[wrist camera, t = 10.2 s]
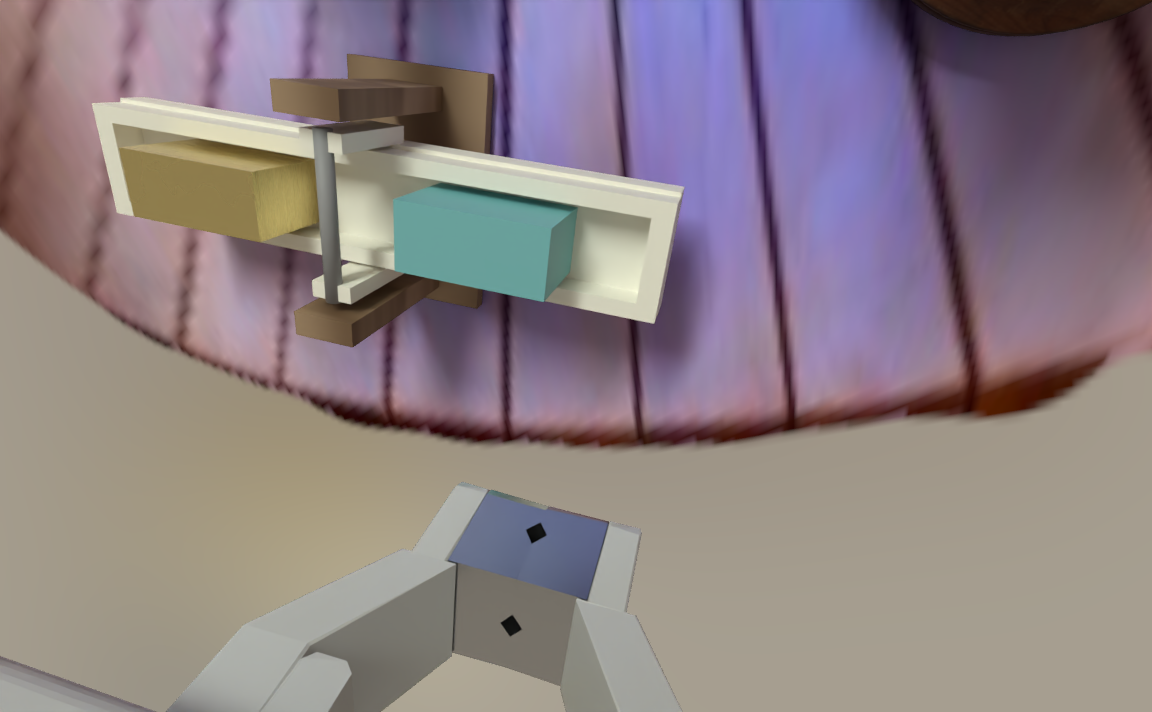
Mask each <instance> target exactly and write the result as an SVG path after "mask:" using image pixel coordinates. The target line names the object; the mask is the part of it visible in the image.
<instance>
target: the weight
mask: <svg viewBox="0 0 1152 712" xmlns="http://www.w3.org/2000/svg"><path fill="white" fill-rule="evenodd" d="M119 151H120V156H121V160H122V165H123V169H124V174H125V178H126V183H127V187H128V192H129V196H130V201H131V205H132V210H133V215H134V216H135V217H140V218H145V219H150V220H154V221H159V222H164V223H169V224H174V225H179V226H184V227H188V228H193V229H198V230H203V231H208V232H213V233H217V234H222V235H227V236H232V237H237V238H242V239H246V240H251V241H256V242H263V241H266V240H269V239H271V238H274V237H277V236H280V235H283V234H286V233H289V232H292V231H295V230H298V229H301V228H304V227H307V226H309V225H312V224H315V223H318V222H319V210H318V197H317V184H316V172H315V160H314V159H309V158H303V157H297V156H292V155H286V154H281V153H275V152H269V151H264V150H258V149H252V148H247V147H241V146H235V145H230V144H224V143H219V142H213V141H207V140H202V139H190V140H181V141H172V142H163V143H154V144H145V145H136V146H126V147H119Z"/></svg>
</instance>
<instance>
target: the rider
mask: <svg viewBox="0 0 1152 712" xmlns="http://www.w3.org/2000/svg"><path fill="white" fill-rule="evenodd" d="M577 210H578V207H573V206H567V205H562V204H556V203H551V202H545V201H539V200H534V199H528V198H523V197H517V196H511V195H506V194H500V193H494V192H489V191H483V190H478V189H472V188H466V187H461V186H455V185H450V184H444V183H438V184H435V185H433V186H430V187H427V188H424V189H421V190H418V191H415V192H412V193H410V194H407V195H404V196H401V197H398V198H395V199H393V217H394V267H395V271H396V272H401V273H406V274H411V275H416V276H421V277H425V278H430V279H435V280H440V281H445V282H449V283H454V284H459V285H464V286H469V287H474V288H478V289H483V290H488V291H493V292H498V293H502V294H507V295H512V296H517V297H522V298H527V299H531V300H536V301H541V302H544V301H545V300H546V299H547V298H548V297H549V296H550V294H551V293H552V292H553V291H554V290H555V289H556V287H557V286H558V285H559V284H560V283H561V282H562V281H563V279H564V278H565V277H566V276H567V275H568V274H569V272H570V268H571V259H572V251H573V243H574V235H575V226H576V218H577Z"/></svg>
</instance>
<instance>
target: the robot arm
mask: <svg viewBox="0 0 1152 712" xmlns="http://www.w3.org/2000/svg"><path fill="white" fill-rule="evenodd" d="M641 534H642V533H641V529H639V528H635V527H631V526H627V525H623V524H619V523H614V522H610V523H609V522H608V521H605V520H600V519H596V518H593V517H588V516H585V515H581V514H577V513H573V512H569V511H565V510H561V509H557V508H554V507H549V506H546V505H542V504H539V503H536V502H532V501H529V500H525V499H522V498H518V497H515V496H511V495H508V494H504V493H501V492H498V491H494V490H488V489H485V488H481V487H478V486H475V485H471V484H468V483H464V482H461V483H460V484H458V485H457V486H456V487H455V488H454V489H453V491H452V492H451V493H450V495H449V497H448V498H447V499H446V501H445V502H444V504H443V505H442V507H441V508H440V510H439V511H438V513H437V514H436V516H435V517H434V519H433V520H432V522H431V523H430V524H429V526H428V527H427V529H426V530H425V532H424V533H423V535H422V536H421V538H420V539H419V541H418V542H417V544H416V545H415V547H414V548H413V550H412V551H409V550H405V549H401V550H399V551H397V552H395V553H393V554H391V555H388V556H386V557H384V558H382V559H380V560H378V561H376V562H374V563H372V564H369V565H368V566H365V567H363V568H361V569H359V570H357V571H355V572H353V573H350V574H348V575H347V576H344V577H342V578H340V579H338V580H336V581H334V582H332V583H330V584H327V585H325V586H323V587H321V588H319V589H317V590H315V591H313V592H311V593H309V594H307V595H304V596H302V597H300V598H298V599H296V600H294V601H292V602H290V603H288V604H286V605H283V606H281V607H279V608H277V609H275V610H273V611H271V612H269V613H267V614H265V615H262V616H260V617H259V618H256V619H254V620H252V621H250V622H248V623H246V624H244V625H243V626H242V627H241V628H240V629H239V631H238V632H237V633H236V634H235V635H234V636H233V637H232V638H231V639H230V640H229V642H228V643H227V644H226V645H225V646H224V647H223V648H222V649H221V651H220V652H219V653H218V654H217V655H216V656H215V657H214V658H213V659H212V661H211V662H210V663H209V664H208V665H207V666H206V667H205V669H203V671H202V672H201V673H200V674H199V675H198V676H197V677H196V678H195V680H194V681H193V682H192V683H191V684H190V685H189V686H188V687H187V688H186V690H185V691H184V692H183V693H182V694H181V695H180V696H179V697H178V699H177V700H176V701H175V702H174V703H173V704H172V705H171V706H170V708H169V709H168V710H167V711H166V712H381V711H382V710H384V709H385V708H386V707H387V706H389V705H390V704H391V703H393V702H394V701H395V700H396V699H398V698H399V697H400V696H402V695H403V694H404V693H405V692H407V691H408V690H409V689H410V688H412V687H413V686H414V685H416V684H417V683H418V682H419V681H421V680H422V679H423V678H424V677H426V676H427V675H428V674H429V673H431V672H432V671H433V670H434V669H436V668H437V667H439V666H440V665H441V664H442V663H444V662H445V661H446V660H447V659H449V658H450V657H451V656H452V653H456V654H460V655H464V656H467V657H470V658H474V659H478V660H481V661H485V662H489V663H492V664H496V665H499V666H503V667H506V668H509V669H512V670H515V671H518V672H521V673H524V674H527V675H530V676H533V677H536V678H538V679H541V680H544V681H547V682H550V683H553V684H556V685H559V686H561V688H560V690H561V694H562V698H563V702H564V706H565V710H566V712H682V710H681V708H680V706H679V704H678V701H677V699H676V697H675V695H674V693H673V691H672V689H671V687H670V685H669V683H668V681H667V679H666V676H665V675H664V672H663V670H662V668H661V666H660V664H659V662H658V660H657V658H656V656H655V654H654V652H653V650H652V647H651V645H650V643H649V641H648V639H647V637H646V635H645V633H644V631H643V629H642V627H641V625H640V623H639V620H638V618H637V616H635V615H632V614H629V613H626V612H627V607H628V602H629V597H630V592H631V587H632V581H633V576H634V571H635V566H636V561H637V555H638V550H639V545H640V540H641ZM0 712H156V711H153V710H150V709H147V708H144V707H142V706H139V705H136V704H133V703H130V702H127V701H125V700H122V699H119V698H116V697H113V696H111V695H108V694H105V693H102V692H100V691H97V690H94V689H91V688H88V687H85V686H83V685H80V684H77V683H74V682H71V681H69V680H66V679H63V678H60V677H58V676H55V675H52V674H49V673H46V672H43V671H41V670H38V669H35V668H32V667H30V666H27V665H24V664H21V663H18V662H16V661H13V660H10V659H7V658H4V657H1V656H0Z"/></svg>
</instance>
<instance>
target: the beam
mask: <svg viewBox="0 0 1152 712" xmlns="http://www.w3.org/2000/svg"><path fill="white" fill-rule="evenodd" d="M120 101H121V102H110V103H92V106H93V111H94V115H95V119H96V123H97V128H98V132H99V136H100V141H101V145H102V149H103V153H104V158H105V162H106V166H107V171H108V175H109V179H110V184H111V188H112V192H113V196H114V201H115V205H116V209H117V213H120V214H125V215H130V216H134V215H133V210H132V205H131V201H130V196H129V192H128V187H127V183H126V178H125V174H124V169H123V165H122V160H121V156H120V151H119V147H126V146H136V145H145V144H154V143H163V142H172V141H181V140H190V139H202V140H207V141H213V142H219V143H224V144H230V145H235V146H241V147H247V148H252V149H258V150H264V151H269V152H275V153H281V154H286V155H292V156H297V157H303V158H309V159H314V160H315V172H316V184H317V197H318V210H319V222H318V223H315V224H312V225H309V226H307V227H304V228H301V229H298V230H295V231H292V232H289V233H286V234H283V235H280V236H277V237H274V238H271V239H269V240H266V241H263V242H261V243H265V244H270V245H275V246H280V247H285V248H290V249H294V250H299V251H304V252H309V253H314V254H319V255H322V261H323V274H324V275H322V276H320V277H318V278H316V279H314V280H312V288H313V296H315V297H320V298H324V299H325V300H326V302H327V303H329V304H339V303H347V304H353V303H354V302H356V301H358V300H359V299H361V298H363V297H364V296H366V295H368V294H370V293H371V292H373V291H375V290H376V289H378V288H380V287H382V286H383V285H385V284H387V283H388V282H390V281H392V280H394V279H395V278H397V277H399V276H400V275H402V274H404V273H401V272H396V271H395V267H394V217H393V199H395V198H398V197H401V196H404V195H407V194H410V193H412V192H415V191H418V190H421V189H424V188H427V187H430V186H433V185H435V184H438V183H444V184H450V185H455V186H461V187H466V188H472V189H478V190H483V191H489V192H494V193H500V194H506V195H511V196H517V197H523V198H528V199H534V200H539V201H545V202H551V203H556V204H562V205H567V206H573V207H578V210H577V218H576V226H575V235H574V243H573V251H572V259H571V268H570V272H569V274H568V275H567V276H566V277H565V278H564V279H563V281H562V282H561V283H560V284H559V285H558V286H557V287H556V289H555V290H554V291H553V292H552V293H551V294H550V296H549V297H548V298H547V299H546V300H545V301H546V302H551V303H556V304H561V305H566V306H570V307H575V308H580V309H585V310H590V311H595V312H599V313H604V314H609V315H614V316H619V317H624V318H629V319H633V320H638V321H643V322H648V323H653V324H654V323H655V320H656V317H657V315H658V312H659V309H660V306H661V303H662V298H663V293H664V288H665V283H666V278H667V273H668V268H669V263H670V258H671V253H672V248H673V242H674V237H675V232H676V227H677V222H678V217H679V212H680V207H681V202H682V197H683V192H684V187H682V186H676V185H670V184H664V183H658V182H652V181H646V180H640V179H634V178H628V177H622V176H616V175H610V174H604V173H598V172H592V171H586V170H580V169H574V168H568V167H562V166H556V165H550V164H544V163H538V162H532V161H526V160H520V159H514V158H508V157H502V156H496V155H490V154H484V153H478V152H472V151H466V150H460V149H454V148H448V147H442V146H436V145H430V144H424V143H418V142H412V141H406V140H404V126H401V125H395V124H389V123H383V122H377V121H371V120H361V121H352V122H343V123H334V124H325V125H310V124H304V123H298V122H292V121H286V120H280V119H274V118H268V117H262V116H256V115H250V114H244V113H238V112H232V111H226V110H220V109H214V108H208V107H202V106H196V105H190V104H184V103H178V102H172V101H166V100H160V99H154V98H148V97H138V98H120ZM144 219H145V218H144ZM149 220H150V219H149ZM173 225H174V224H173ZM178 226H179V225H178ZM183 227H184V226H183ZM207 232H208V231H207ZM212 233H213V232H212ZM236 238H237V237H236ZM241 239H242V238H241ZM341 259H343V260H348V261H352V262H349V263H347V264H345V265H343V266H341Z"/></svg>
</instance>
